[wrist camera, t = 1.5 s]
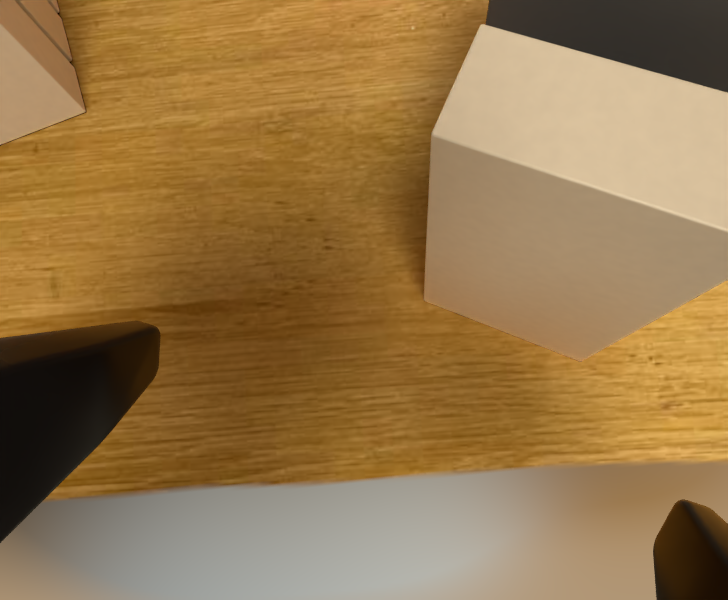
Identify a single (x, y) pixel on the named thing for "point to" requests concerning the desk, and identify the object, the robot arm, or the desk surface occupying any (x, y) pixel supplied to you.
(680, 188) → the beige rectangular block
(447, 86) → the desk surface
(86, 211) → the desk surface
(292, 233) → the desk surface
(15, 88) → the long white grooved block
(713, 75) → the gray grooved block
